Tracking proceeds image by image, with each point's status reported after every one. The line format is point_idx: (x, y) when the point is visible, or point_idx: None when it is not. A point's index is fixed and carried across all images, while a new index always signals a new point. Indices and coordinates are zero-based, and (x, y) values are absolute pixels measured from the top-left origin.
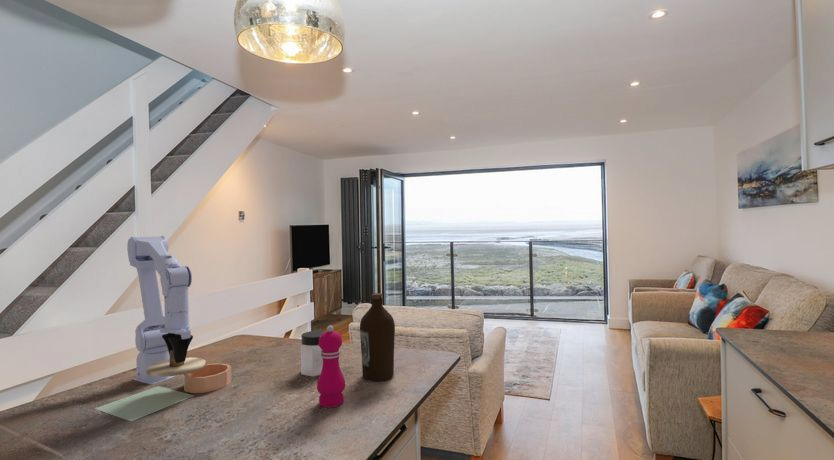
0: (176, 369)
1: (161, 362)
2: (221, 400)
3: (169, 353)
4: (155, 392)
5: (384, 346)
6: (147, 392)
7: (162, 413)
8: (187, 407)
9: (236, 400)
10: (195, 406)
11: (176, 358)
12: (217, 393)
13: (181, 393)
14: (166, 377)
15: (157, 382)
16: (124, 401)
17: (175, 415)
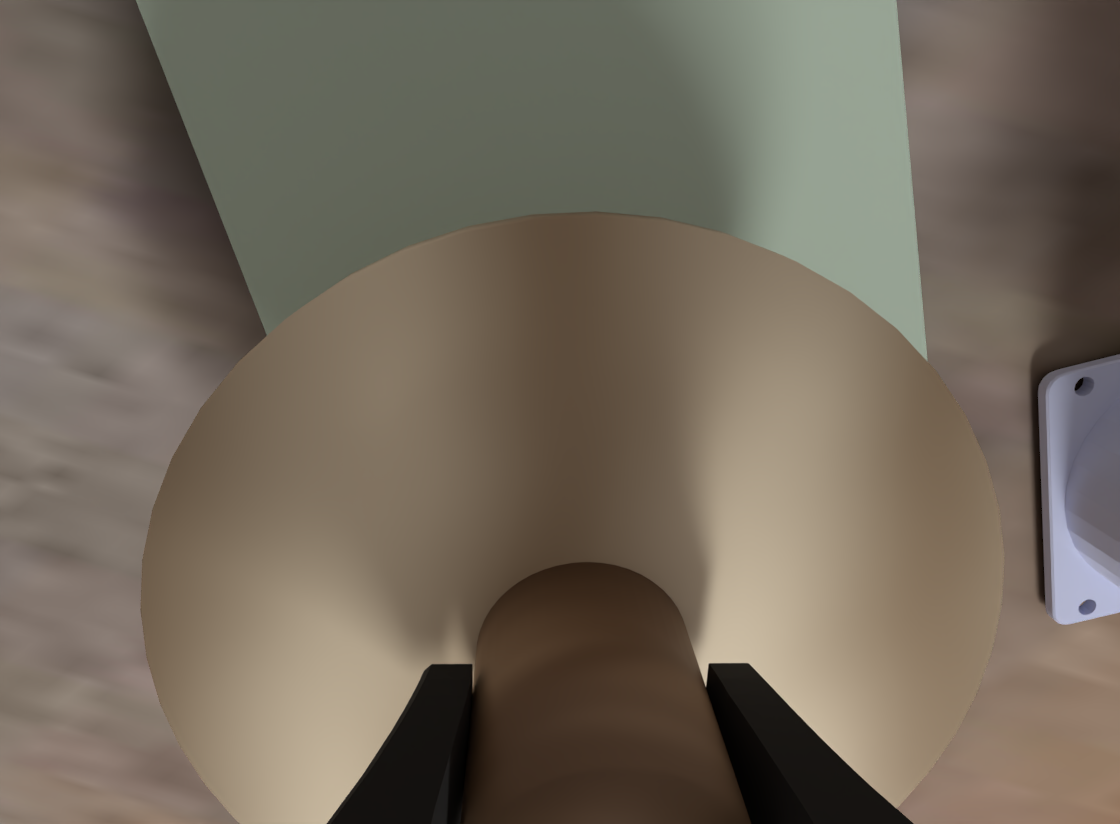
0: (322, 582)
1: (935, 539)
2: (97, 662)
3: (774, 731)
4: None
5: None
6: (838, 270)
7: (155, 207)
8: (142, 419)
9: (6, 736)
10: (114, 474)
11: (398, 725)
12: None
13: None
14: (1074, 530)
15: (1046, 432)
16: (783, 4)
17: (8, 278)
